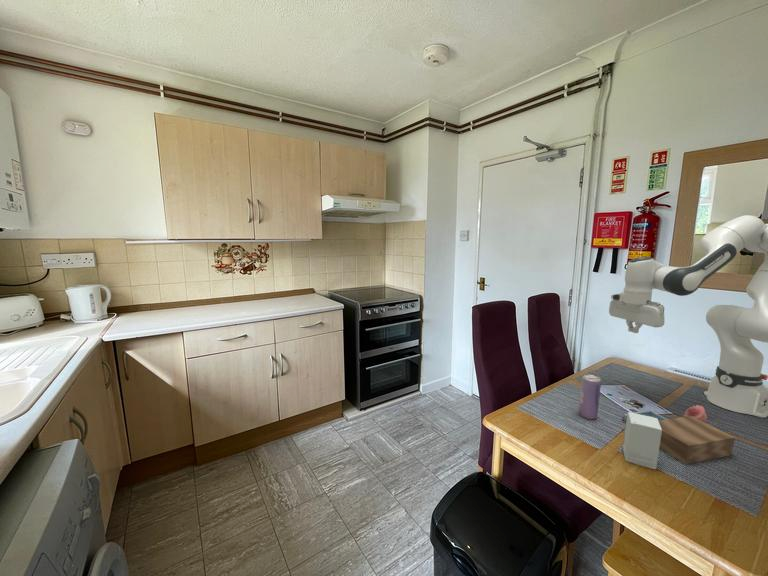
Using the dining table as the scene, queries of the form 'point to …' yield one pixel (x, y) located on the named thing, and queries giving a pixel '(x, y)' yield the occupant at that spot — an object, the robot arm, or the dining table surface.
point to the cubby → (694, 440)
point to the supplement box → (642, 440)
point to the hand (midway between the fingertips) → (633, 332)
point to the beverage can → (589, 396)
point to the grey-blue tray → (646, 413)
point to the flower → (697, 413)
